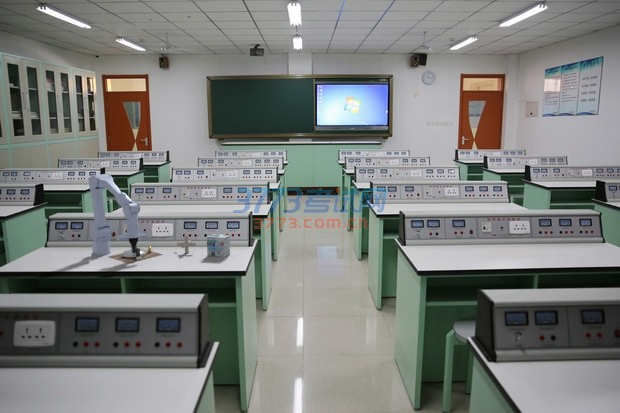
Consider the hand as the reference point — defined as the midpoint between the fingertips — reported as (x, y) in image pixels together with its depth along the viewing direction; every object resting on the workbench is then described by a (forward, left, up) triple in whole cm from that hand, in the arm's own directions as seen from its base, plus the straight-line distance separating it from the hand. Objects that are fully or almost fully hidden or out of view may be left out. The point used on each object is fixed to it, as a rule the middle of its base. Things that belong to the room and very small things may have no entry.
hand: (134, 252), depth 226 cm
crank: (-5, +4, -3) cm, 7 cm away
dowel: (-5, +12, -4) cm, 14 cm away
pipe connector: (+8, +26, -5) cm, 28 cm away
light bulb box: (+25, +34, -5) cm, 43 cm away
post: (-7, +4, -2) cm, 9 cm away
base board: (-7, +4, -5) cm, 10 cm away
